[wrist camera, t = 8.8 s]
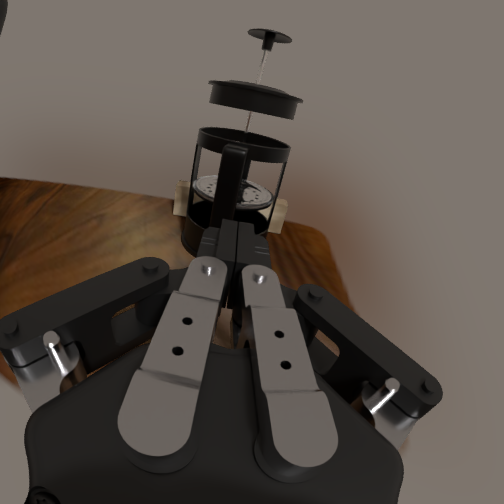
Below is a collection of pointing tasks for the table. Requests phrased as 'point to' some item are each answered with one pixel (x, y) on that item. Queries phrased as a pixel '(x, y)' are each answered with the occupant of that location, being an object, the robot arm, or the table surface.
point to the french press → (238, 156)
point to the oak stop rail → (183, 195)
